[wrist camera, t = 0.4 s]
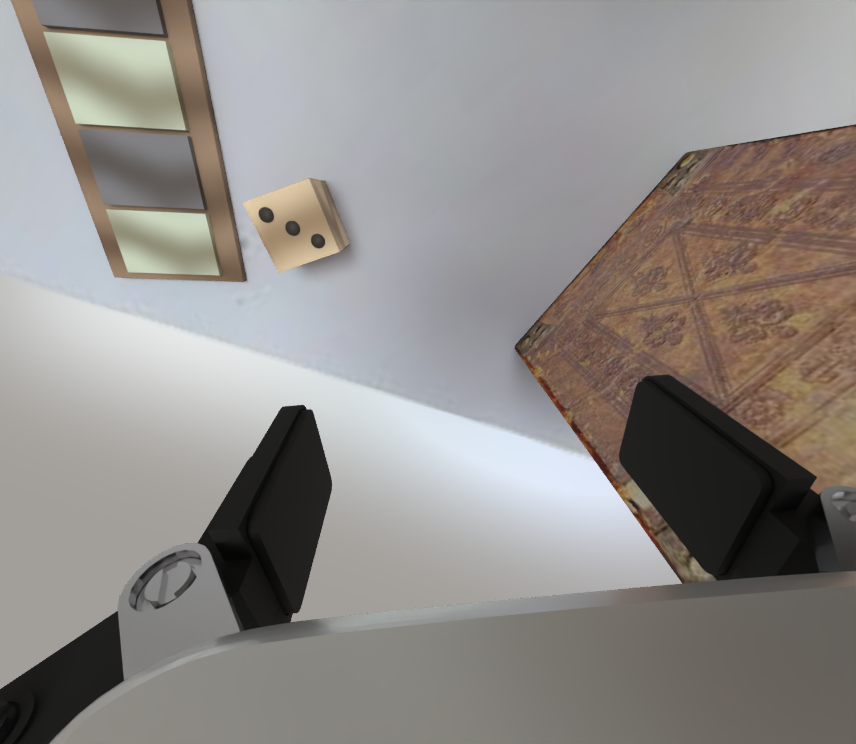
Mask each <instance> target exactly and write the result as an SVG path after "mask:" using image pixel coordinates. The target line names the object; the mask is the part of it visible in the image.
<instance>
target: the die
mask: <svg viewBox="0 0 856 744" xmlns="http://www.w3.org/2000/svg"><path fill="white" fill-rule="evenodd" d="M243 205H244V206H245V208H246V210H247V212H248V214H249V216H250V218H251V220H252V222H253V224H254V226H255V228H256V230H257V232H258V234H259V236H260V238H261V240H262V242H263V244H264V245H265V247H266V249H267V251H268V253H269V255H270V257H271V259H272V261H273V263H274V265H275V267H276V269H277V271H278V273H280V272H283V271H286V270H289V269H292V268H294V267H297V266H300V265H303V264H306V263H309V262H312V261H315V260H318V259H320V258H323V257H326V256H329V255H332V254H335V253H338V252H340V251H341V250H343V249H344V248H345V247H346V246H347V245H349V244H350V242H349V240H348V237H347V235H346V232H345V230H344V227H343V225H342V222H341V220H340V217H339V215H338V212H337V210H336V207H335V205H334V202H333V200H332V197H331V194H330V192H329V189H328V187H327V184H326V182H325V181H322V180H316V179H311V178H308V179H306V180H303V181H300V182H297V183H295V184H292V185H289V186H287V187H284V188H281V189H279V190H276V191H273V192H270V193H268V194H265V195H262V196H260V197H257V198H254V199H252V200H249V201H246V202H243Z"/></svg>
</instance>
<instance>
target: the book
mask: <svg viewBox="0 0 856 744" xmlns="http://www.w3.org/2000/svg"><path fill="white" fill-rule="evenodd" d="M515 350H516V351H517V352H518V354H519V355H520V357H521V358H522V359H523V361H524V362H525V364H526V365H527V366H528V368H529V369H530V371H531V372H532V373H533V375H534V376H535V378H536V379H537V380H538V382H539V383H540V385H541V386H542V387H543V389H544V390H545V392H546V393H547V394H548V396H549V397H550V399H551V400H552V401H553V403H554V404H555V406H556V407H557V408H558V410H559V411H560V413H561V414H562V415H563V417H564V418H565V420H566V421H567V422H568V424H569V425H570V427H571V428H572V429H573V431H574V432H575V434H576V435H577V436H578V438H579V439H580V441H581V442H582V443H583V445H584V446H585V448H586V449H587V450H588V452H589V453H590V455H591V456H592V457H593V459H594V460H595V462H596V463H597V464H598V466H599V467H600V469H601V470H602V471H603V473H604V474H605V476H606V477H607V478H608V480H609V481H610V483H611V484H612V485H613V487H614V488H615V490H616V491H617V492H618V494H619V495H620V497H621V498H622V499H623V501H624V502H625V504H626V505H627V506H628V508H629V509H630V510H631V512H632V513H633V515H634V516H635V517H636V519H637V520H638V522H639V523H640V524H641V526H642V527H643V529H644V530H645V532H646V533H647V534H648V536H649V537H650V539H651V540H652V541H653V543H654V544H655V546H656V547H657V548H658V550H659V551H660V553H661V554H662V555H663V557H664V558H665V560H666V561H667V562H668V564H669V565H670V567H671V568H672V569H673V571H674V572H675V573H676V575H677V577H678V578H679V579H680V580H681V582H682V584H686V583H698V582H709V581H717V580H716V579H715V577H714V576H713V575H711V574H708V573H707V572H705V571H704V570H703V569H702V567H701V566H700V565H699V564H698V562H697V561H696V560H695V559H694V557H693V556H692V555H691V553H690V552H689V551H688V550H687V548H686V547H685V546H684V544H683V543H682V542H681V541H680V539H679V538H678V537H677V536H676V534H675V533H674V532H673V530H672V529H671V528H670V527H669V525H668V524H667V523H666V521H665V520H664V519H663V518H662V516H661V515H660V514H659V513H658V511H657V510H656V509H655V507H654V506H653V505H652V504H651V502H650V501H649V500H648V498H647V497H646V496H645V495H644V493H643V492H642V491H641V490H640V488H639V487H638V486H637V484H636V483H635V482H634V481H633V479H632V478H631V477H630V476H629V474H628V473H627V472H626V470H625V469H624V468H623V467H622V465H621V463H620V460H619V451H620V447H621V443H622V439H623V435H624V431H625V428H626V424H627V420H628V416H629V412H630V408H631V404H632V400H633V396H634V392H635V388H636V385H637V384H638V382H641V381H642V379H643V378H644V377H646V376H653V375H664V374H667V375H670V376H672V377H674V378H675V379H677V380H678V381H680V382H681V383H682V384H684V385H685V386H687V387H688V388H690V389H691V390H693V391H694V392H695V393H697V394H698V395H700V396H701V397H703V398H704V399H706V400H707V401H708V402H710V403H711V404H713V405H714V406H716V407H717V408H719V409H720V410H721V411H723V412H724V413H726V414H727V415H729V416H730V417H731V418H733V419H734V420H736V421H737V422H739V423H740V424H742V425H743V426H744V427H746V428H747V429H749V430H750V431H752V432H753V433H755V434H756V435H757V436H759V437H760V438H762V439H763V440H765V441H766V442H768V443H769V444H770V445H772V446H773V447H775V448H776V449H778V450H779V451H781V452H782V453H783V454H785V455H786V456H788V457H789V458H791V459H792V460H794V461H795V462H796V463H798V464H799V465H801V466H802V467H804V468H805V469H807V470H808V471H809V472H811V473H812V474H814V475H815V476H817V478H816V480H815V482H814V483H813V485H812V486H811V488H810V489H812V490H813V491H815V492H816V493H817V494H820V492H821V491H822V490H823V489H825V488H826V487H830V486H849V487H854V488H856V125H850V126H844V127H838V128H831V129H825V130H819V131H813V132H807V133H801V134H795V135H789V136H783V137H777V138H771V139H765V140H759V141H753V142H746V143H740V144H734V145H728V146H722V147H716V148H710V149H704V150H698V151H692V152H688V153H686V154H685V155H684V156H683V157H682V158H681V159H680V160H679V161H678V162H677V164H676V165H675V166H674V167H673V168H672V169H671V170H670V171H669V173H668V174H667V175H666V176H665V177H664V178H663V179H662V180H661V182H660V183H659V184H658V185H657V186H656V187H655V188H654V189H653V191H652V192H651V193H650V194H649V195H648V196H647V197H646V199H645V200H644V201H643V202H642V203H641V204H640V205H639V206H638V208H637V209H636V210H635V211H634V212H633V213H632V214H631V215H630V217H629V218H628V219H627V220H626V221H625V222H624V223H623V224H622V226H621V227H620V228H619V229H618V230H617V231H616V232H615V233H614V235H613V236H612V237H611V238H610V239H609V240H608V241H607V242H606V244H605V245H604V246H603V247H602V248H601V249H600V250H599V251H598V253H597V254H596V255H595V256H594V257H593V258H592V259H591V261H590V262H589V263H588V264H587V265H586V266H585V267H584V268H583V270H582V271H581V272H580V273H579V274H578V275H577V276H576V277H575V279H574V280H573V281H572V282H571V283H570V284H569V285H568V286H567V288H566V289H565V290H564V291H563V292H562V293H561V294H560V295H559V297H558V298H557V299H556V300H555V301H554V302H553V303H552V304H551V306H550V307H549V308H548V309H547V310H546V311H545V312H544V314H543V315H542V316H541V317H540V318H539V319H538V320H537V321H536V323H535V324H534V325H533V326H532V327H531V328H530V329H529V330H528V332H527V333H526V334H525V335H524V336H523V337H522V338H521V339H520V341H519V342H518V343H517V344H516V345H515Z"/></svg>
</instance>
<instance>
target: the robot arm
mask: <svg viewBox="0 0 856 744" xmlns="http://www.w3.org/2000/svg"><path fill="white" fill-rule="evenodd" d="M619 460H620V463H621V465H622V467H623V468H624V469H625V470H626V472H627V473H628V474H629V476H630V477H631V478H632V479H633V481H634V482H635V483H636V484H637V486H638V487H639V488H640V490H641V491H642V492H643V493H644V495H645V496H646V497H647V498H648V500H649V501H650V502H651V504H652V505H653V506H654V507H655V509H656V510H657V511H658V513H659V514H660V515H661V516H662V518H663V519H664V520H665V521H666V523H667V524H668V525H669V527H670V528H671V529H672V530H673V532H674V533H675V534H676V536H677V537H678V538H679V539H680V541H681V542H682V543H683V544H684V546H685V547H686V548H687V550H688V551H689V552H690V553H691V555H692V556H693V557H694V559H695V560H696V561H697V562H698V564H699V565H700V566H701V567H702V569H703V570H704V571H705V572H707V573H708V574H711V575H713V576H714V577H715V579H716V580H717V581H709V582H698V583H686V584H676V585H663V586H651V587H640V588H629V589H618V590H607V591H596V592H586V593H574V594H563V595H552V596H542V597H531V598H520V599H509V600H499V601H488V602H478V603H468V604H457V605H447V606H437V607H426V608H417V609H406V610H396V611H385V612H375V613H366V614H358V615H349V616H341V617H332V618H324V619H315V620H306V621H297V622H290V621H291V617H292V614H293V613H298V612H299V610H300V608H301V605H302V601H303V598H304V594H305V590H306V586H307V582H308V578H309V575H310V571H311V567H312V563H313V559H314V555H315V552H316V548H317V544H318V540H319V537H320V533H321V529H322V525H323V521H324V517H325V514H326V510H327V506H328V502H329V498H330V494H331V490H332V480H331V475H330V472H329V468H328V465H327V461H326V457H325V454H324V450H323V446H322V443H321V439H320V435H319V432H318V428H317V424H316V421H315V417H314V414H313V411H312V410H307V409H306V407H305V406H304V405H297V406H285V407H282V408H281V409H280V411H279V412H278V414H277V416H276V418H275V419H274V421H273V422H272V424H271V426H270V428H269V429H268V431H267V433H266V434H265V436H264V438H263V439H262V441H261V443H260V444H259V446H258V448H257V449H256V451H255V453H254V454H253V456H252V457H250V459H249V460H248V461H247V462H246V464H245V466H244V468H243V469H242V471H241V473H240V474H239V476H238V477H237V479H236V481H235V482H234V484H233V486H232V487H231V489H230V491H229V492H228V494H227V495H226V497H225V499H224V501H223V502H222V504H221V506H220V507H219V509H218V510H217V512H216V514H215V515H214V517H213V519H212V520H211V522H210V524H209V525H208V527H207V529H206V530H205V532H204V533H203V535H202V537H201V538H200V540H199V542H198V543H186V544H182V545H178V546H175V547H172V548H170V549H168V550H166V551H164V552H162V553H160V554H158V555H157V556H155V557H154V558H152V559H151V560H149V561H148V562H147V563H146V564H144V565H143V566H142V567H141V568H140V569H139V570H138V571H137V572H136V573H135V574H134V575H133V576H132V578H131V579H130V580H129V581H128V583H127V584H126V585H125V587H124V589H123V591H122V593H121V595H120V597H119V603H118V611H117V612H115V613H114V614H112V615H111V616H109V617H108V618H106V619H105V620H103V621H102V622H100V623H99V624H97V625H96V626H94V627H93V628H91V629H90V630H88V631H87V632H85V633H84V634H82V635H81V636H79V637H78V638H76V639H75V640H74V641H72V642H70V643H69V644H67V645H66V646H64V647H63V648H61V649H60V650H58V651H57V652H55V653H54V654H52V655H51V656H49V657H48V658H46V659H45V660H43V661H42V662H40V663H39V664H38V665H36V666H34V667H33V668H31V669H30V670H28V671H27V672H25V673H24V674H22V675H21V676H19V677H18V678H16V679H15V680H13V681H12V682H10V683H9V684H7V685H6V686H4V687H3V688H1V689H0V744H856V488H854V487H849V486H830V487H826V488H825V489H823V490H822V491H821V492H820V494H817V493H816V492H815V491H813V490H812V489H810V488H811V486H812V485H813V483H814V482H815V480H816V478H817V476H815V475H814V474H812V473H811V472H809V471H808V470H807V469H805V468H804V467H802V466H801V465H799V464H798V463H796V462H795V461H794V460H792V459H791V458H789V457H788V456H786V455H785V454H783V453H782V452H781V451H779V450H778V449H776V448H775V447H773V446H772V445H770V444H769V443H768V442H766V441H765V440H763V439H762V438H760V437H759V436H757V435H756V434H755V433H753V432H752V431H750V430H749V429H747V428H746V427H744V426H743V425H742V424H740V423H739V422H737V421H736V420H734V419H733V418H731V417H730V416H729V415H727V414H726V413H724V412H723V411H721V410H720V409H719V408H717V407H716V406H714V405H713V404H711V403H710V402H708V401H707V400H706V399H704V398H703V397H701V396H700V395H698V394H697V393H695V392H694V391H693V390H691V389H690V388H688V387H687V386H685V385H684V384H682V383H681V382H680V381H678V380H677V379H675V378H674V377H672V376H670V375H667V374H664V375H653V376H646V377H644V378H643V379H642V381H641V382H638V384H637V385H636V388H635V392H634V396H633V400H632V404H631V408H630V412H629V416H628V420H627V424H626V428H625V431H624V435H623V439H622V443H621V447H620V451H619Z"/></svg>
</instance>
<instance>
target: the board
mask: <svg viewBox="0 0 856 744" xmlns="http://www.w3.org/2000/svg"><path fill="white" fill-rule="evenodd" d="M11 2H12V4H13V7H14V10H15V12H16V15H17V18H18V20H19V23H20V26H21V29H22V31H23V34H24V37H25V39H26V42H27V45H28V47H29V50H30V53H31V55H32V58H33V61H34V63H35V66H36V69H37V71H38V74H39V77H40V79H41V82H42V85H43V87H44V90H45V93H46V95H47V98H48V101H49V103H50V106H51V109H52V111H53V114H54V117H55V120H56V122H57V125H58V128H59V130H60V133H61V136H62V138H63V141H64V144H65V146H66V149H67V152H68V154H69V157H70V160H71V162H72V165H73V168H74V170H75V173H76V176H77V178H78V181H79V184H80V186H81V189H82V192H83V194H84V197H85V200H86V202H87V205H88V208H89V211H90V213H91V216H92V219H93V221H94V224H95V227H96V229H97V232H98V235H99V237H100V240H101V243H102V245H103V248H104V251H105V253H106V256H107V259H108V261H109V264H110V267H111V269H112V272H113V275H114V277H121V278H150V279H179V280H208V281H237V282H244V281H246V280H247V279H246V274H245V269H244V264H243V259H242V254H241V249H240V244H239V239H238V234H237V229H236V224H235V219H234V214H233V209H232V204H231V199H230V193H229V188H228V183H227V178H226V173H225V168H224V163H223V158H222V153H221V148H220V143H219V138H218V133H217V128H216V123H215V118H214V113H213V107H212V102H211V97H210V92H209V87H208V82H207V77H206V72H205V67H204V62H203V57H202V52H201V47H200V42H199V37H198V32H197V27H196V21H195V16H194V11H193V6H192V1H191V0H11Z"/></svg>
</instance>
